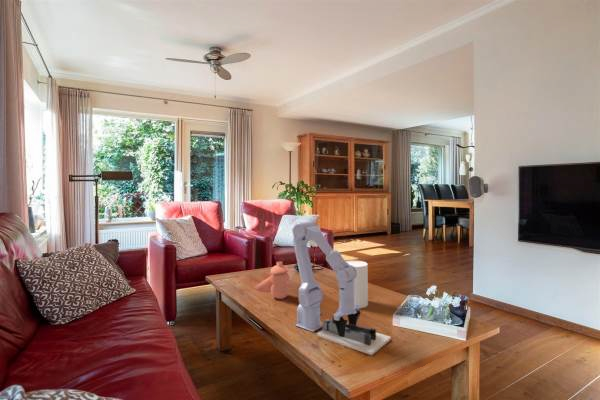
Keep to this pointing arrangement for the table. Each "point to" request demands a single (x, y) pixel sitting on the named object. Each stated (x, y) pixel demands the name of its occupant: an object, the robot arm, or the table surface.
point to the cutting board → (367, 349)
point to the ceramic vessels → (276, 282)
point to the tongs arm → (362, 329)
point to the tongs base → (347, 332)
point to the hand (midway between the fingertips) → (347, 332)
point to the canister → (360, 283)
